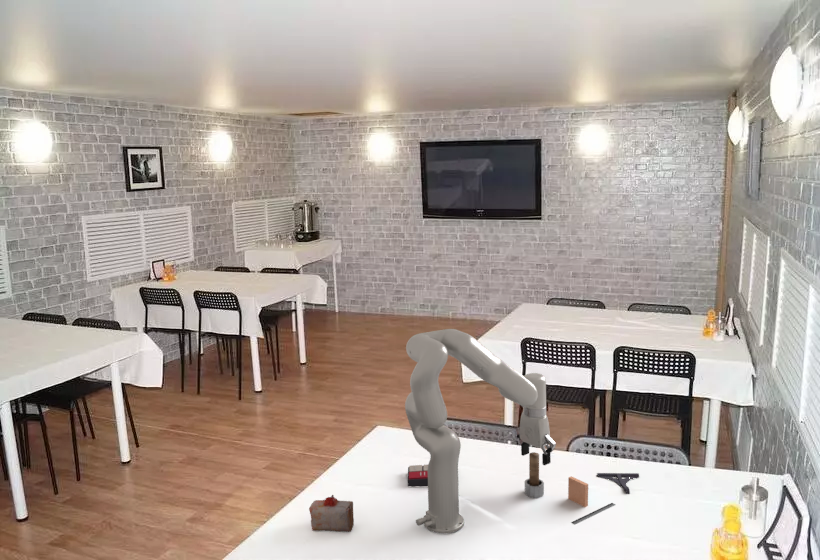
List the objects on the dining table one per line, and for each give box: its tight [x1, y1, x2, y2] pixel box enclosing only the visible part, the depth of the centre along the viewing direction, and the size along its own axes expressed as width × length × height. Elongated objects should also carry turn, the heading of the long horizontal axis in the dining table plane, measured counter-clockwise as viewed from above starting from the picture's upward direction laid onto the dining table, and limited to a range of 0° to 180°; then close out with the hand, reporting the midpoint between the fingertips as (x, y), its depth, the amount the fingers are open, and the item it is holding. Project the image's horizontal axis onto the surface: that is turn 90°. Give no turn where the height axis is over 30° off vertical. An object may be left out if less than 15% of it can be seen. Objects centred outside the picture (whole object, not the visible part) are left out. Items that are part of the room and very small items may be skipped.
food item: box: [308, 494, 355, 533], centre depth 201 cm, size 14×8×10 cm, turn 83°
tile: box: [567, 476, 589, 508], centre depth 211 cm, size 2×7×8 cm, turn 35°
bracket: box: [596, 472, 640, 495], centre depth 225 cm, size 14×15×3 cm
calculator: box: [406, 464, 428, 487], centre depth 232 cm, size 11×4×15 cm
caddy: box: [524, 478, 545, 499], centre depth 218 cm, size 6×6×5 cm
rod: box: [528, 451, 540, 486], centre depth 217 cm, size 3×3×14 cm
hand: (535, 459), depth 217 cm, fingers open, 9 cm apart
